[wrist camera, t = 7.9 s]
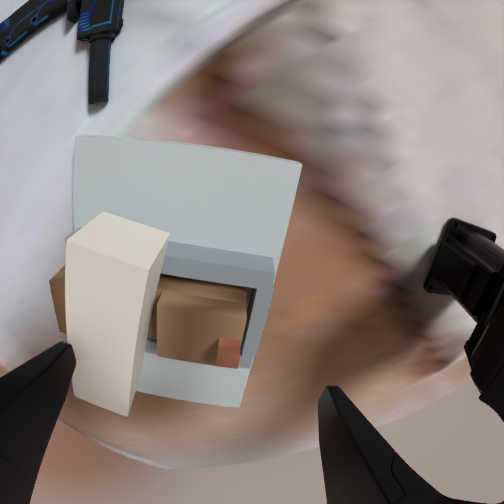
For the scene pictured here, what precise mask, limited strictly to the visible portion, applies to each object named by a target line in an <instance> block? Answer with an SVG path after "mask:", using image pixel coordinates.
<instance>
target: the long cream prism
mask: <svg viewBox="0 0 504 504" xmlns="http://www.w3.org/2000/svg"><path fill="white" fill-rule="evenodd" d="M170 234H171V233H168V232H165V231H162V230H159V229H156V228H153V227H150V226H146V225H143V224H140V223H137V222H134V221H131V220H128V219H125V218H122V217H119V216H116V215H113V214H110V213H107V212H104V211H103V212H102V213H101V214H99V215H98V216H97V217H95V218H94V219H93V220H91V221H90V222H89V223H88V224H86V225H85V226H84V227H82V228H81V229H80V230H79V231H77V232H76V233H75V234H74V235H72V236H71V237H70V238H69V239H67V241H66V260H65V310H66V330H67V343H70V344H71V345H72V347H73V350H74V354H75V357H76V367H75V370H74V373H73V376H72V384H73V391H74V396H75V397H77V398H79V399H82V400H84V401H87V402H89V403H91V404H94V405H96V406H99V407H102V408H104V409H107V410H110V411H112V412H115V413H118V414H121V415H124V416H127V417H128V415H129V411H130V408H131V405H132V402H133V398H134V395H135V392H136V389H137V386H138V383H139V379H140V376H141V371H142V365H143V358H144V353H145V347H146V341H147V336H148V330H149V325H150V320H151V315H152V310H153V305H154V301H155V296H156V291H157V287H158V282H159V278H160V274H161V270H162V265H163V261H164V257H165V253H166V249H167V245H168V241H169V237H170Z"/></svg>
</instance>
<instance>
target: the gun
mask: <svg viewBox="0 0 504 504" xmlns="http://www.w3.org/2000/svg"><path fill="white" fill-rule="evenodd" d="M123 6H124V0H29V1H28V2H27V3H25V4H24V5H23V6H21V7H20V8H19V9H18V10H17V11H15V12H14V13H13V14H12V15H11V16H9V17H8V18H7V19H6V20H4V21H3V22H2V23H1V24H0V47H1V51H2V52H1V53H0V61H1V60H2V59H3V58H4V57H5V56H6V55H7V54H8V53H10V52H11V51H12V50H13V49H14V48H15V47H17V46H18V45H19V44H20V43H21V42H23V41H24V40H25V39H26V38H28V37H29V36H30V35H31V34H33V33H34V32H35V31H37V30H38V29H39V28H41V27H42V26H43V25H45V24H46V23H47V22H49V21H50V20H52V19H53V18H55V17H56V16H58V15H59V14H61V13H62V12H64V11H65V10H67V19H68V20H69V21H70V22H71V23H76V22H77V21H78V20H79V23H78V32H77V40H80V41H87V40H89V43H91V48H90V63H89V105H90V104H94V103H98V102H108V93H109V64H110V49H111V39H113V40H114V39H115V34H117V33H118V32H119V31H121V28H122V26H123V19H122V14H123ZM34 18H35V21H34V22H33V19H34Z"/></svg>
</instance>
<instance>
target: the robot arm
mask: <svg viewBox="0 0 504 504" xmlns="http://www.w3.org/2000/svg"><path fill="white" fill-rule="evenodd" d="M454 223H455V225H454ZM495 240H496V234H495V233H493V232H492V231H489V230H486V229H484V228H481V227H479V226H476V225H473V224H471V223H468V222H465V221H462V220H460V219H457V218H452V219H451V220H450V221H449V223H448V226H447V229H446V232H445V235H444V237H443V240H442V243H441V245H440V248H439V250H438V253H437V256H436V258H435V261H434V263H433V265H432V268H431V270H430V272H429V275H428V277H427V279H426V282H425V284H424V289H425V290H426V291H427V292H428V293H436V294H444V295H452V296H453V298H454V299H455V300H456V301H457V302H458V303H459V304H460V305H461V306H462V307H463V308H464V309H465V311H466V312H467V313H468V314H469V315H470V316H471V317H472V318H473V319H474V321H475V322H476V323H477V325H476V327H475V329H474V331H473V332H472V334H471V336H470V338H469V340H467V342H466V343H465V345H464V349H465V352H466V355H467V358H468V361H469V364H470V367H471V370H472V371H471V372H470V375H471V378H472V380H473V382H474V384H475V385H476V386H477V388H478V390H479V392H480V393H481V395H480V396H479V399H480V400H481V401H482V402H484V403H486V404H487V405H489V406H490V407H491V408H492V409H493V410H494V411H496V412H497V413H498V414H499V416H500V417H501V419H502V420H503V422H504V249H502V248H501V247H499V246H498V245H497V244H495ZM429 286H430V287H429ZM75 367H76V357H75V354H74V350H73V347H72V345H71V344H70V343H67V342H63V341H61V342H59V343H57V344H55V345H54V346H52V347H50V348H49V349H47V350H45V351H44V352H42V353H40V354H39V355H37V356H35V357H34V358H32V359H30V360H29V361H27V362H25V363H24V364H22V365H20V366H19V367H17V368H15V369H14V370H12V371H10V372H9V373H7V374H6V375H4V376H2V377H1V378H0V504H30V500H31V496H32V493H33V489H34V484H35V481H36V478H37V475H38V472H39V469H40V466H41V462H42V459H43V456H44V453H45V451H46V448H47V445H48V442H49V440H50V437H51V434H52V432H53V429H54V426H55V424H56V421H57V419H58V416H59V414H60V411H61V409H62V406H63V404H64V401H65V399H66V396H67V393H68V389H69V386H70V383H71V379H72V376H73V373H74V370H75ZM318 420H319V445H320V451H321V459H322V467H323V474H324V482H325V490H326V497H327V504H486V503H478V502H470V501H464V500H458V499H452V498H449V497H446V496H444V495H442V494H441V493H440V492H438V491H437V490H436V489H435V488H433V487H432V486H431V485H430V484H429V483H427V482H426V481H425V480H424V479H423V478H422V477H421V476H419V475H418V474H417V473H416V472H415V471H414V470H413V469H412V468H411V467H410V466H409V465H408V464H407V463H406V462H405V461H404V460H403V459H402V458H401V457H400V456H399V455H398V454H397V453H396V452H395V450H394V449H393V448H392V447H391V446H390V445H389V443H388V442H387V441H386V440H385V439H384V438H383V437H382V436H381V435H380V433H379V432H378V431H377V430H376V429H375V428H374V427H373V425H372V424H371V423H370V422H369V421H368V420H367V419H366V417H365V416H364V415H363V414H362V413H361V412H360V411H359V409H358V408H357V407H356V406H355V405H354V404H353V403H352V401H351V400H350V399H349V398H348V397H347V396H346V394H345V393H344V392H343V391H342V390H341V389H340V388H339V387H338V386H327V387H326V388H325V389H324V391H323V393H322V395H321V397H320V399H319V402H318ZM498 504H504V501H503V502H501V503H498Z"/></svg>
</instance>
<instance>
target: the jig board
mask: <svg viewBox="0 0 504 504" xmlns="http://www.w3.org/2000/svg"><path fill="white" fill-rule="evenodd" d="M301 168H302V164H301V163H299V162H297V161H292V160H287V159H283V158H278V157H273V156H267V155H262V154H257V153H251V152H245V151H239V150H233V149H227V148H221V147H214V146H207V145H199V144H192V143H184V142H175V141H166V140H155V139H144V138H131V137H116V136H95V135H82V136H77V137H75V151H74V171H73V217H74V232H72V233H71V234H70V235H69V236H67V237H66V238H65V243H66V241H67V239H69V238H70V237H71V236H72V235H74V234H75V233H76V232H77V231H79V230H80V229H81V228H82V227H84V226H85V225H86V224H88V223H89V222H90V221H91V220H93V219H94V218H95V217H97V216H98V215H99V214H101V213H102V212H103V211H104V212H107V213H110V214H113V215H116V216H119V217H122V218H125V219H128V220H131V221H134V222H137V223H140V224H143V225H146V226H150V227H153V228H156V229H159V230H162V231H165V232H168V233H171V234H170V237H169V241H168V245H167V249H166V253H165V257H164V261H163V265H162V270H161V274H167V275H173V276H179V277H185V278H191V279H197V280H203V281H210V282H216V283H223V284H229V285H236V286H243V287H246V302H247V321H246V325H245V330H244V334H243V338H242V343H241V347H240V361H239V366H238V369H234V368H226V367H218V366H213V365H206V364H199V363H193V362H187V361H181V360H175V359H170V358H164V357H159V356H157V339H152V338H147V341H146V347H145V353H144V358H143V365H142V371H141V376H140V379H139V383H138V386H137V389H136V391H139V392H143V393H148V394H152V395H157V396H162V397H168V398H173V399H179V400H184V401H191V402H197V403H204V404H211V405H219V406H228V407H238V408H240V404H241V401H242V397H243V394H244V391H245V387H246V384H247V380H248V376H249V373H250V369H251V366H252V362H253V359H254V358H256V355H257V352H258V348H259V345H260V341H261V337H262V334H263V330H264V326H265V323H266V319H267V315H268V312H269V308H270V304H271V301H272V297H273V293H274V288H273V284H274V280H275V276H276V272H277V268H278V264H279V260H280V256H281V252H282V248H283V244H284V240H285V236H286V232H287V228H288V224H289V219H290V215H291V211H292V207H293V203H294V198H295V194H296V190H297V185H298V181H299V177H300V172H301Z"/></svg>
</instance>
